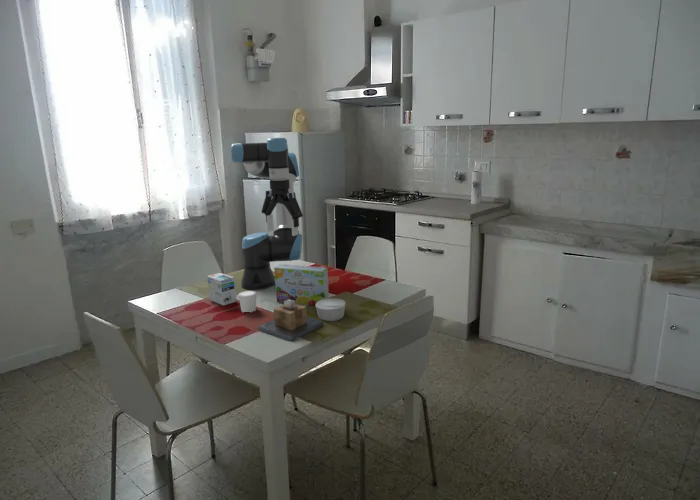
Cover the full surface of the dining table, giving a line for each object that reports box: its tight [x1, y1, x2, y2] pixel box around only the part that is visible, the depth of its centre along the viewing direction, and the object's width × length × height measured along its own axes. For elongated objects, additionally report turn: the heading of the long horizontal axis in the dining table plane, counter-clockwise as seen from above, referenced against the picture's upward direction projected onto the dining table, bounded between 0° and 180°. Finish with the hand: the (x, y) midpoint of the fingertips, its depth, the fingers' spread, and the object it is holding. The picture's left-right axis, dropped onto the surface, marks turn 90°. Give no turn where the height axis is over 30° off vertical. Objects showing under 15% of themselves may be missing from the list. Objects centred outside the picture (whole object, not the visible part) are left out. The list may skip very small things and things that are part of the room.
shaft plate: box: [258, 299, 324, 342], centre depth 168 cm, size 16×16×10 cm
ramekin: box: [315, 297, 346, 322], centre depth 178 cm, size 11×11×5 cm
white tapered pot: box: [237, 290, 257, 313], centre depth 186 cm, size 7×7×7 cm
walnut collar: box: [273, 304, 308, 330], centre depth 168 cm, size 8×8×6 cm
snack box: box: [273, 263, 330, 307], centre depth 192 cm, size 21×6×15 cm, turn 72°
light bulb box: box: [206, 272, 237, 307], centre depth 196 cm, size 11×7×11 cm, turn 47°
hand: (282, 233), depth 189 cm, fingers open, 13 cm apart
